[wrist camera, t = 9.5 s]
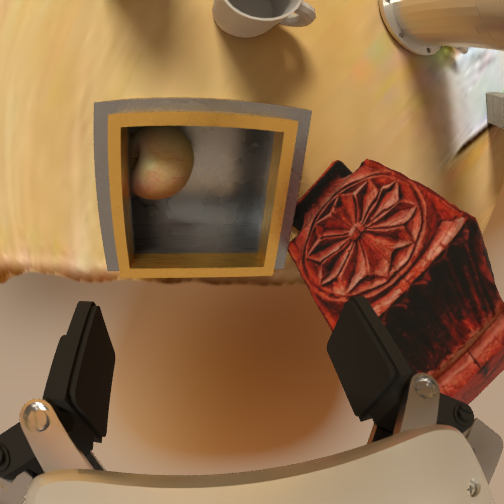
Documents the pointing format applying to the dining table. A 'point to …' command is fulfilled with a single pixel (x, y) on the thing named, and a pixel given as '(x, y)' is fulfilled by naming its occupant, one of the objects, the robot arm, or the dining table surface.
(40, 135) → the dining table surface
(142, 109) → the box
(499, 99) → the skincare box
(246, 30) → the cup
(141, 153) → the fruit
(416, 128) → the dining table surface
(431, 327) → the vase
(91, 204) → the dining table surface
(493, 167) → the dining table surface
